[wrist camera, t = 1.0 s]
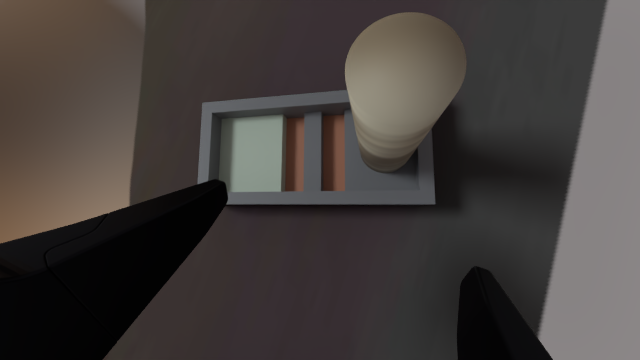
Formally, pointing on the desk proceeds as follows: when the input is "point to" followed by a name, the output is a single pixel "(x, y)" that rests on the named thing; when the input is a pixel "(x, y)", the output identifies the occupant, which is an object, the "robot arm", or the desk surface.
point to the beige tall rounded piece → (401, 84)
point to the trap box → (302, 155)
